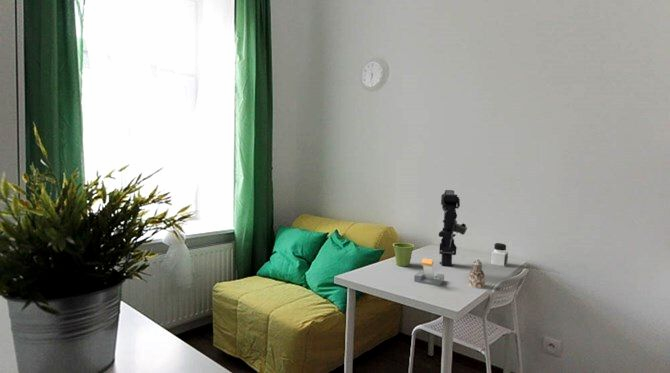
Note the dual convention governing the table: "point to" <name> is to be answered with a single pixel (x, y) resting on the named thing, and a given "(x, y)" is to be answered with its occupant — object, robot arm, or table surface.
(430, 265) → the switch lever
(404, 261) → the plant pot
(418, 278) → the switch housing
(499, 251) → the medicine bottle
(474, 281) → the figurine
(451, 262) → the robot arm
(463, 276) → the table surface
